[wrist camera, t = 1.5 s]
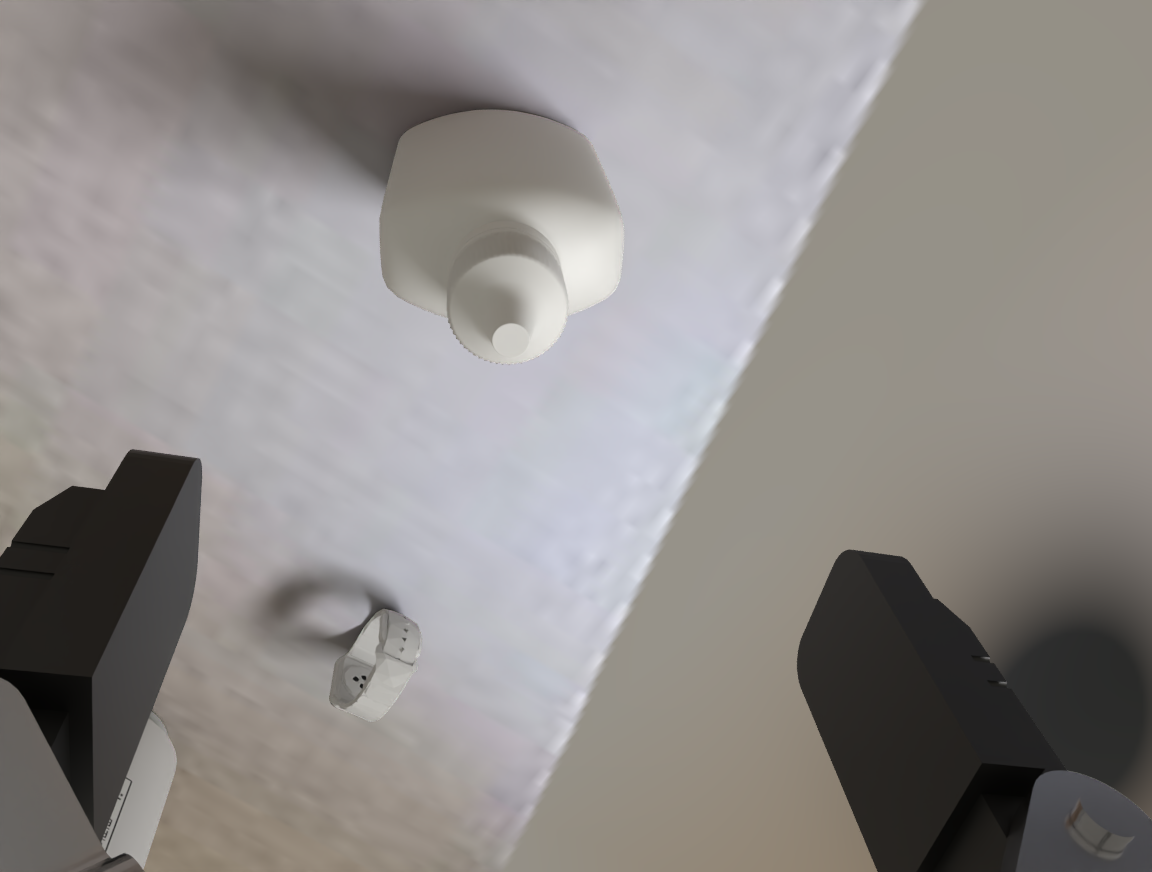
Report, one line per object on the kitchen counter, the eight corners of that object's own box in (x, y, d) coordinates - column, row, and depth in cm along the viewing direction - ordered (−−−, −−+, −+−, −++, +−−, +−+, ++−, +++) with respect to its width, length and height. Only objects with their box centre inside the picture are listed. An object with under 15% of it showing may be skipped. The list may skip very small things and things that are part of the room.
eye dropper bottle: (540, 274, 30) (576, 488, 19) (374, 183, 28) (318, 366, 18) (616, 152, 28) (701, 314, 18) (445, 46, 26) (430, 159, 16)
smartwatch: (385, 582, 35) (375, 659, 32) (435, 606, 36) (431, 685, 33) (335, 644, 37) (320, 725, 33) (385, 666, 37) (375, 748, 34)
